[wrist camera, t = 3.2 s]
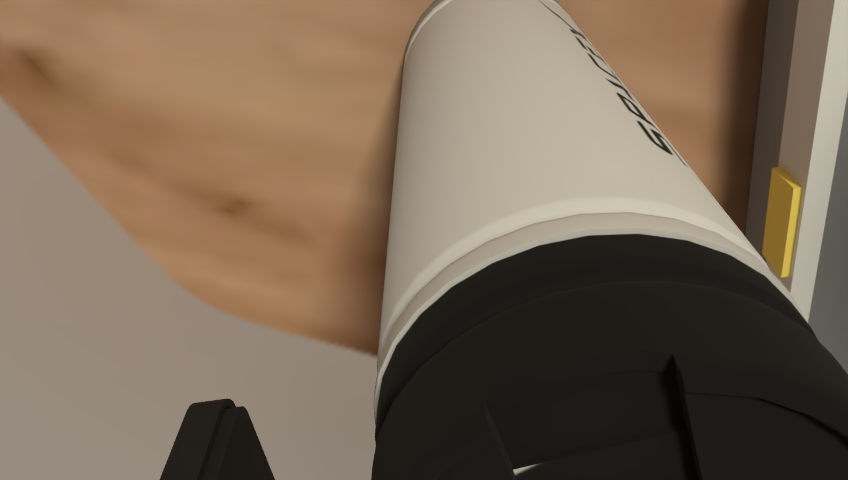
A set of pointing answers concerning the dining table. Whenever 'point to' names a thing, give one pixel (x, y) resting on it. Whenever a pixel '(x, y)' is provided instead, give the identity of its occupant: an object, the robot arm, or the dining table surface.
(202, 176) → the dining table surface
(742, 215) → the dining table surface
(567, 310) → the travel mug
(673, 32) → the dining table surface
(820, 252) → the grey bookend
